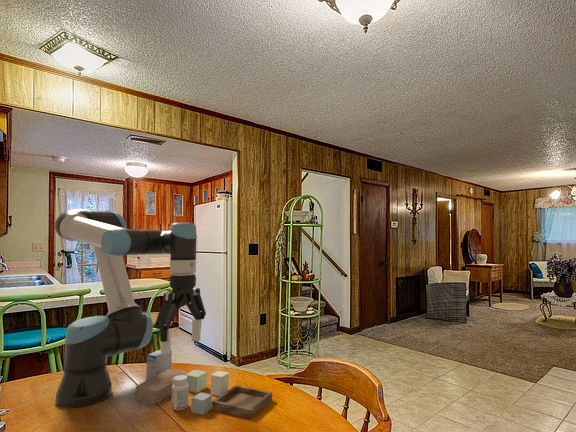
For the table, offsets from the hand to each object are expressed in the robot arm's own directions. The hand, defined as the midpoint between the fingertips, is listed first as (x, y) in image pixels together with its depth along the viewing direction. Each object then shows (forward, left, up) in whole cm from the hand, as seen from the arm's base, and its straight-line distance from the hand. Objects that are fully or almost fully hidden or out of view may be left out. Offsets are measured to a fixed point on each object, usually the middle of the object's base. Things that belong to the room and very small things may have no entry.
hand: (181, 346), depth 107 cm
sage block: (-4, +12, -17) cm, 21 cm away
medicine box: (-22, +15, -17) cm, 32 cm away
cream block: (+5, +13, -17) cm, 22 cm away
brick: (-12, +6, -18) cm, 22 cm away
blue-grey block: (+7, +1, -17) cm, 19 cm away
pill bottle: (0, 0, -17) cm, 17 cm away
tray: (+16, +9, -17) cm, 25 cm away
